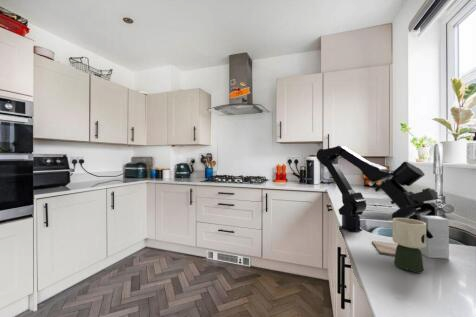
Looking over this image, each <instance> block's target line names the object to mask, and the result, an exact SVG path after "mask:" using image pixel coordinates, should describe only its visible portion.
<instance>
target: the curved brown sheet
mask: <svg viewBox="0 0 476 317" xmlns="http://www.w3.org/2000/svg"><path fill="white" fill-rule="evenodd" d="M371 243H372V244H373V246H374V248H375V249H376V250H377V252H378V253H379V254H380V255H386V256H392V257H395V253H396V248H397V245H398V244H397V243H392V242H383V241H376V240H372V241H371Z"/></svg>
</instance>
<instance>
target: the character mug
mask: <svg viewBox="0 0 476 317" xmlns="http://www.w3.org/2000/svg"><path fill="white" fill-rule="evenodd" d="M392 242H394V244H398V245H397V248H396V253H395V256H394V265H395V266H397V267H399V268H401V269H404V270H407V271H408V272H414V273H423V272H425V267H424V260H423V254H421V251H420V248H425V247H426V223H424V222H422V221H419V220H414V219H408V218H392Z"/></svg>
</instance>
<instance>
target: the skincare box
mask: <svg viewBox="0 0 476 317" xmlns="http://www.w3.org/2000/svg"><path fill="white" fill-rule="evenodd" d="M420 220H421V221H422V222H424V223H426V228H427V229H428V230H429V231H430V233H431V234H432V235H433V238H431V239H429V238H427V237H426V247H425V248H420V251H421V254H422V256H424V257H425V258H433V259H449V258H450V239H449V237H450V235H449V232H450V229H449V228H450V227H449V225H450V224H449V221H450V220H449V219H448V218H445V217H442V216H439V215H437V216H420Z"/></svg>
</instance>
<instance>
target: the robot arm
mask: <svg viewBox="0 0 476 317" xmlns="http://www.w3.org/2000/svg"><path fill="white" fill-rule="evenodd" d="M315 157H316V159H317V160H318V162H319V163H320V164H321V165H322V166H323V167H326V169H327V171H328V173H329V174H330V176H331V177H332V180H333V181H334V183H335V186H337V188H338V190H339V192H340V193H341V198H342V199H341V202H342V204H343V205H342V206H341V207H340V208H338V213H339V215H340V216H341V225H339V226H338V228H340V229H343V230H345V231H347V232H350V233H353V232H360V231H361V230H362V231H363V228H361V219H360V216H361V215H363V213H364V211H366V208H367V199H365V198H364V196H363V194H362V192H361V191H358V192H356V191H355V190H354V189H353V187H352V186H351V184H350V183H349V182H348V180H347V178H346V176H345V175H344V173H343V171H342V169H341V168H340V166H339V164H338V158H339V157H341V158H343V159H344V160H346V161H347V162H348V163H351V164H352V165H353V166H354V167H356V168H357V169H359V170H360V171H361V173H362V175H363V176H364V177H366V179H368V180H369V181H370V182H381V183H379V184H378V183H377V184H375V189H374V191H375V192H376V193H377V192H378V193H379V192H382V191H383V193H384V194H386V196H387V197H388V198H389V199H390V204H392V205H396V207H398V209H397V210H396V211H394V212H392V213H391V218H392V219H393V218H408V219H414V220H419V221H421V220H420V216H438V211H439V206H438V205H437V204H436V203H435V202H431V201H436V200H439V196H438V191H436V190H435V189H431V188H430V187H426V188H423V189H422V190H421V191H419V192H413V191H410V190H409V191H408V190H407V189H406V188H405V187H404V186H407V187H411V186H412V185H413V184H414V183H416V182H417V181H418V180H420V179H422V178H423V177H424V176H426V174H425V172H424V171H423V170H422V169H421V168H419V167H417V166H415V165H414V164H412V163H410V162H409V161H403V162H401V164H400V165H399V166H398V167H397V168H396V169H395V170H390V169H389V168H388V167H386V166H383V165H382V164H377V163H374V162H372V161H369V160H367V159H365V158H364V157H362V156H361V155H359V154H358V153H356V152H354V151H352V149H349V148H348V147H347V146H345V145H337V146H333V147H329V148H320V149H318V150H317V151H316V155H315ZM426 237H427V238H429V239H431V238H433V235H432V234H431V233H430V231H429V230H428V229H427V228H426Z"/></svg>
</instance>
